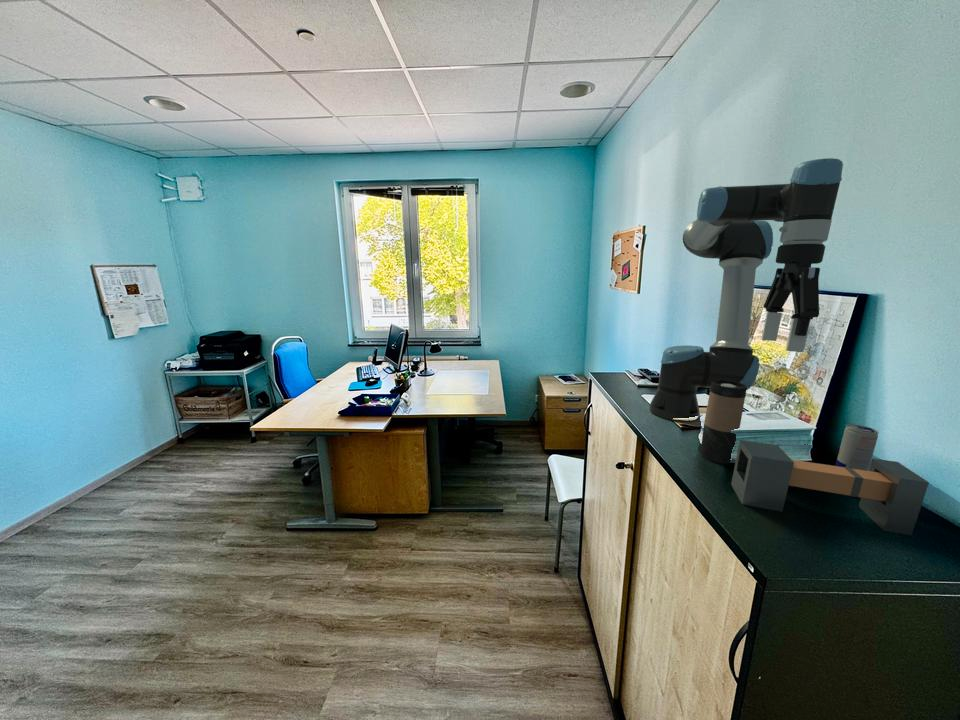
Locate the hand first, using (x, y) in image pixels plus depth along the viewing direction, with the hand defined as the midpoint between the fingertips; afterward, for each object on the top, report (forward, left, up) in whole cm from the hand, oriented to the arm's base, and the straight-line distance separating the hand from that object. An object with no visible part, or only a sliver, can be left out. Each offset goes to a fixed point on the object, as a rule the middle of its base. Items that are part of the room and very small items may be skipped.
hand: (780, 345), depth 82 cm
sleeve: (+10, -2, -32) cm, 33 cm away
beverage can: (-1, +18, -32) cm, 37 cm away
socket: (+10, +19, -32) cm, 38 cm away
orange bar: (+10, +8, -27) cm, 30 cm away
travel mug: (-8, -6, -32) cm, 33 cm away
